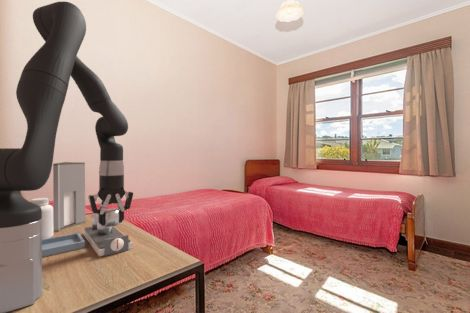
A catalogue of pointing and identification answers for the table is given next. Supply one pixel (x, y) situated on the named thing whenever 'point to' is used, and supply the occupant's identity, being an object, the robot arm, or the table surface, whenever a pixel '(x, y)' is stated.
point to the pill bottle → (45, 216)
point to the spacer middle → (103, 229)
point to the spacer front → (111, 217)
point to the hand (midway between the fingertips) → (111, 223)
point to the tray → (62, 244)
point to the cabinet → (68, 194)
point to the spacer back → (94, 221)
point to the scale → (107, 241)
